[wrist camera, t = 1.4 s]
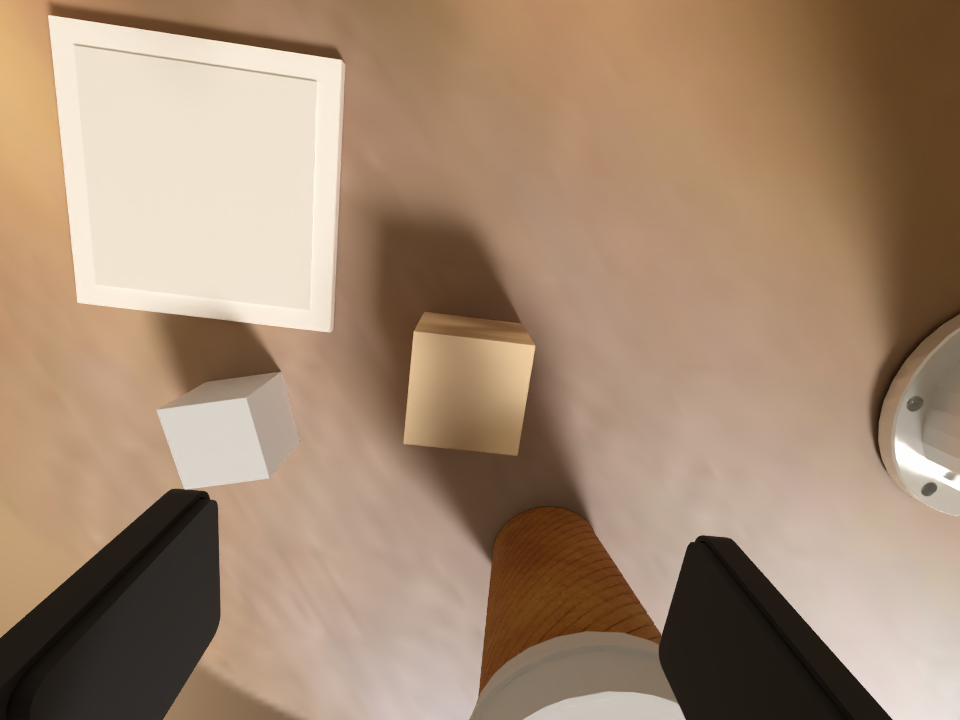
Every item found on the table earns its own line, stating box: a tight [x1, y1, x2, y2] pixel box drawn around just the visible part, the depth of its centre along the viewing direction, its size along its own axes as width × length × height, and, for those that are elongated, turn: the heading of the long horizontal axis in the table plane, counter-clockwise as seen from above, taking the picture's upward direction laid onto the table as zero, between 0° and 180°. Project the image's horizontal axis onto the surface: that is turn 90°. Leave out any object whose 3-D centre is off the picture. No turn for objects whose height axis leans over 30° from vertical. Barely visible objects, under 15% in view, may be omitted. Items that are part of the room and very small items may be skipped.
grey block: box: [157, 372, 300, 490], centre depth 22 cm, size 4×4×4 cm
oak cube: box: [403, 312, 535, 456], centre depth 22 cm, size 5×5×5 cm
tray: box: [48, 15, 345, 332], centre depth 21 cm, size 12×12×1 cm
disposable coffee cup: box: [470, 507, 686, 720], centre depth 21 cm, size 10×10×12 cm
